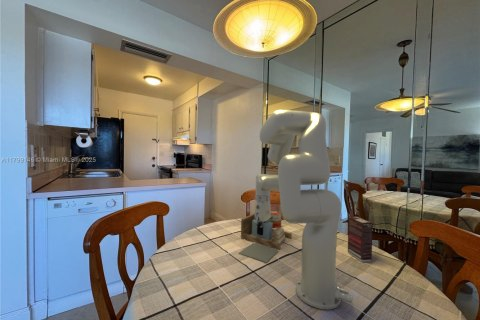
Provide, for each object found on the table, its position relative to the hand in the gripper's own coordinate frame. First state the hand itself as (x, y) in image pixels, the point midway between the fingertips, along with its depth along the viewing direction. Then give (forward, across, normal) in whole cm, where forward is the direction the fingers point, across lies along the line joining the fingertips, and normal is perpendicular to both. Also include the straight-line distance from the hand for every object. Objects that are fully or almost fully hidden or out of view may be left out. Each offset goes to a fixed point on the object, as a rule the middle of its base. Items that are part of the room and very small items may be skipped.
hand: (261, 232), depth 103 cm
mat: (+2, -16, -7) cm, 18 cm away
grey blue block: (+2, 0, 0) cm, 2 cm away
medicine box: (+3, +17, +6) cm, 18 cm away
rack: (+2, 0, -2) cm, 3 cm away
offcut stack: (+2, 0, -9) cm, 9 cm away
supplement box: (+2, +6, -43) cm, 43 cm away
